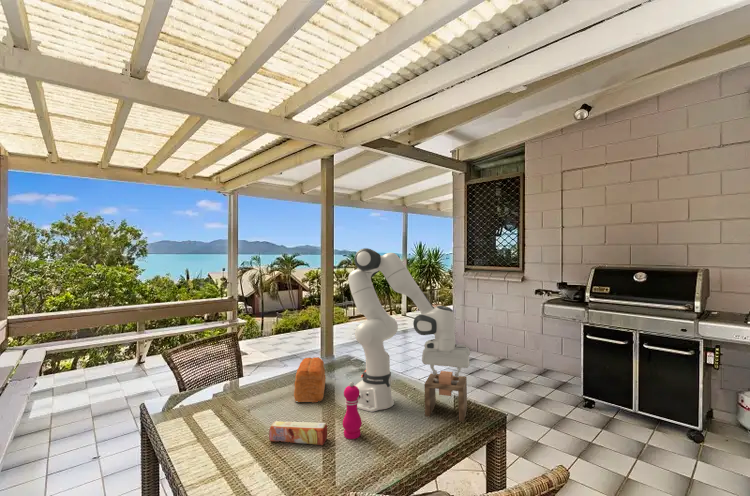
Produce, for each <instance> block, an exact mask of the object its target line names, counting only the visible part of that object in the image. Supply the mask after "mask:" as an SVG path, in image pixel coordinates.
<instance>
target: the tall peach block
mask: <svg viewBox="0 0 750 496" xmlns="http://www.w3.org/2000/svg"><path fill="white" fill-rule="evenodd" d="M438 374H439V384H447V385H451V381H452V380H453V376H454V374H453V371H448V370H446V371H445V370H441V371H440V373H438ZM453 392H454V391H452V390H443V389H438V395H439V396H447V397H452V393H453Z"/></svg>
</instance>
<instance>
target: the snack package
mask: <svg viewBox="0 0 750 496" xmlns="http://www.w3.org/2000/svg"><path fill="white" fill-rule="evenodd" d="M268 438H269V441H270V442H279V441H281V442H280V443H289V442H290V443H292V444H305V445H307V444H308V445H318V446H323V445H324V444H325V442H326V441H327V439H328V425H327V423H326V422H309V421H308V422H305V421H304V422H303V421H277V420H275V421H274V422H272V424H271V425H270V427H269V432H268ZM290 443H289V444H290Z"/></svg>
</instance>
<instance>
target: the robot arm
mask: <svg viewBox="0 0 750 496" xmlns="http://www.w3.org/2000/svg"><path fill="white" fill-rule="evenodd" d="M354 264H355V267H357V268H355V269H353V270H352V271H350V273H349V274H348V277H347V279H348V285H349V289H350V293H351V296H352V299H353V301H354V304H355V307H356V310H357V311H358V312H359V313H360V314H362V315H363V316H364V317H365V318H366V320H365V321H363V322H362V323H359V325H358V326H356V327H355V330H354V331H355V332H354V336H355V340H356V341H357V343H359V345H361V346H362V348H363V352H364V356H365V370H363V371H364V372H363V373H362V374H361V375H360V376H361V377H360V378H361V379H362V380H360V381H359V382H357V383H356V384H354V386H356V387H358V389H359V392H360V394H359V397H358V404H357V409H359V410H363V411H367V412H370V413H371V412H376V411H382V410H386V409H389V408H392V407H393V405H394V404H395V401H394V399H393V393H392V387H391V385H392V373H391V368H390V366H391V365H390V362H391V361H390V360H391V359H390V357H391V356H390V354H389V353H388V352H387V351H386V350H385V347H384V346H385V345H384V341H387V340H389V339H392V338H393V337H394V336H395V335H396V334H397V332H398V329H399V325H398V322H397V320H396V319H395V318H393V316H390V315H389V313H388V312H387V311H386V310H385V309H384V306H383V305H382V304H381V301H380V300H379V296H378V295H377V292H376V290H375V287H374V284H373V282H372V278H373V277H374V276H375V275H377V274H378V273H379V272H380V273H382V274H383V276H384V278H385V280H386V282H387V283H388V285H389V286H390V288H391V290H393V291H394V292H395V293H398V294H401V295H403V296H406V297H408V298H409V299H411V301H413V303H414V305H415V306H416V307H417V309H418V311H419V312H420V313H419V314H417V315H416V316H415V318H414V319H413V329H414V331H415V332H416V333H418V334H419V335H421V336H430V335H434V338H432V339H428V340H427V341H426V342H425V343H424V345H423V346H424V348H423V350H422V355H421V356H422V357H421V362H422V364H423V365H428V366H430V369H431V371H432V373H433V375H437V374H438V373H437V372H438V370H437V369H435V367H434V366H439V367H440V366H442V367H451V368H457V371H455V372H454V376H455V377H457V378H458V377H459V376H460V372H461V370H462V368H463V369H468V368H469V367H470V354H471V349H470V347H468V346H467V345H464V344H457V343H456V334H455V329H456V317H455V313H454V309H452V308H451V307H449V306H444V305H437V306H436V307H435V306H433V304H432V303H431V302H430V301H429V299H428V298H427V296H426V295H425V294H424V292H423V291H422V289H421V288H420V286H419V285H418V284H417V282H416V281H415V279H414V278H413V276H412V274H411V273H410V271H409V269H408V267H406V265H405V264H404V262H403V261H402V258H400V256H398V254H397V253H395V252H386V253H385V254H383V255H381V254H380V253H379V252H377V251H376V250H373V249H372V248H367V247H365V248H361V249H359V250H358V251H357V252H356V253H355V255H354ZM344 401H345V400H344ZM345 402H346V401H345ZM345 402H344V403H345ZM345 406H347V405H346V403H345Z"/></svg>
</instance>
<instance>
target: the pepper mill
mask: <svg viewBox="0 0 750 496" xmlns="http://www.w3.org/2000/svg"><path fill="white" fill-rule="evenodd" d="M359 394H360V392H359V389H358V387H356V386H355V383H354V381H350V382H349V384H348V385H347V386H346V387H345V388H344V391H343V396H344V398H345V399H344V401H346V402H344V403H346V405H345V406H346V411H345V414H344V417H343V419H342V427H343V429H344V430H343V436H344V438H345V439H348V440H355V439H358V438H360V437H361V434H362V433H361V427H362V424H363V423H362V418H361V415H360V413H359V410H358V408H357V404H358V397H359Z"/></svg>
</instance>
